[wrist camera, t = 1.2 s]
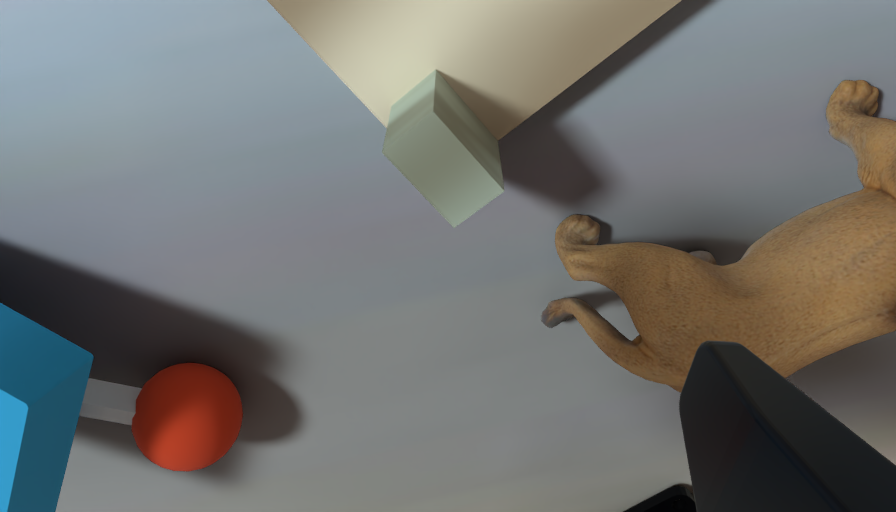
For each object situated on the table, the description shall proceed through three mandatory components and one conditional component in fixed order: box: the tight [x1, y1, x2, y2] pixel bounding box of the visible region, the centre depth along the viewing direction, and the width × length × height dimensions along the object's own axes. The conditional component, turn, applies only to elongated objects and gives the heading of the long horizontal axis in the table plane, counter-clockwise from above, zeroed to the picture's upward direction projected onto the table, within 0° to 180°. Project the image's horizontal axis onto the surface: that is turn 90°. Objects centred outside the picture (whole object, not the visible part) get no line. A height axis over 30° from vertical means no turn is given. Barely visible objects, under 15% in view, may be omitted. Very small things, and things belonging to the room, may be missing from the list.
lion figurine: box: [541, 80, 896, 392], centre depth 18 cm, size 15×5×9 cm, turn 128°
